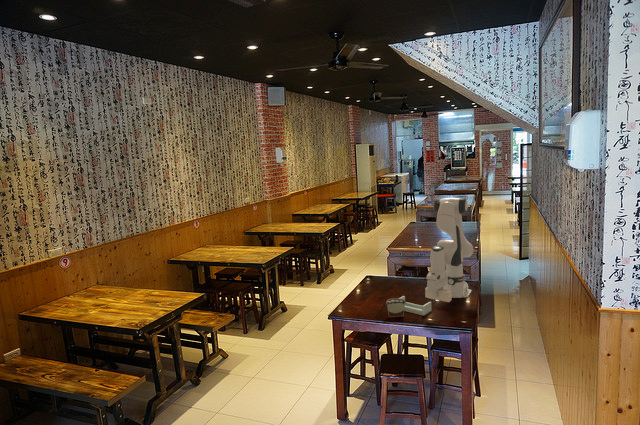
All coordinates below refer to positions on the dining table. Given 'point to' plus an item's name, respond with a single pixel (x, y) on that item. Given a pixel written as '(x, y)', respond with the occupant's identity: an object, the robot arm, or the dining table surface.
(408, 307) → the grey elongated piece
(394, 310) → the food container
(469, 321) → the dining table surface
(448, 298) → the clay strip
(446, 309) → the dining table surface
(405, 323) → the dining table surface
